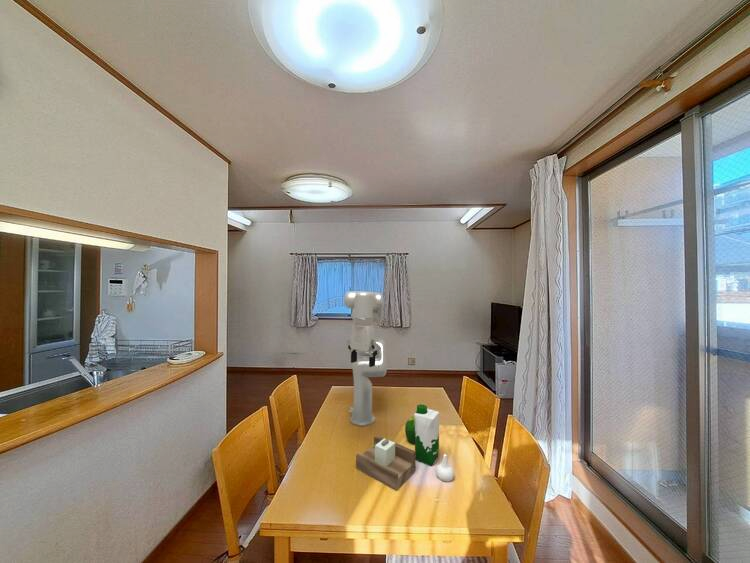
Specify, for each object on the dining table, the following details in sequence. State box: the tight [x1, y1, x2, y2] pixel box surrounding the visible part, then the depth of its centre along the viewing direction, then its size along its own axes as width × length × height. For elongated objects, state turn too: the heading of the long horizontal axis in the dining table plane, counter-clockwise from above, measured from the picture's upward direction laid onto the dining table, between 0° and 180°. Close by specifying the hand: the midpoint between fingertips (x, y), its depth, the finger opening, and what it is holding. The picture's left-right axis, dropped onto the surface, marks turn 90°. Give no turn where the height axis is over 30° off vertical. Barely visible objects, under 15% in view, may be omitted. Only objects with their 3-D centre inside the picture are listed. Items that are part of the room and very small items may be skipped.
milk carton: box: [413, 404, 440, 467], centre depth 108 cm, size 9×9×20 cm
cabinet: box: [375, 437, 396, 467], centre depth 101 cm, size 5×6×7 cm
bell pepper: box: [404, 415, 415, 445], centre depth 120 cm, size 8×8×10 cm
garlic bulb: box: [435, 453, 455, 482], centre depth 98 cm, size 6×6×8 cm
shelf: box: [355, 434, 417, 491], centre depth 101 cm, size 13×18×7 cm
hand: (362, 364), depth 111 cm, fingers open, 9 cm apart
